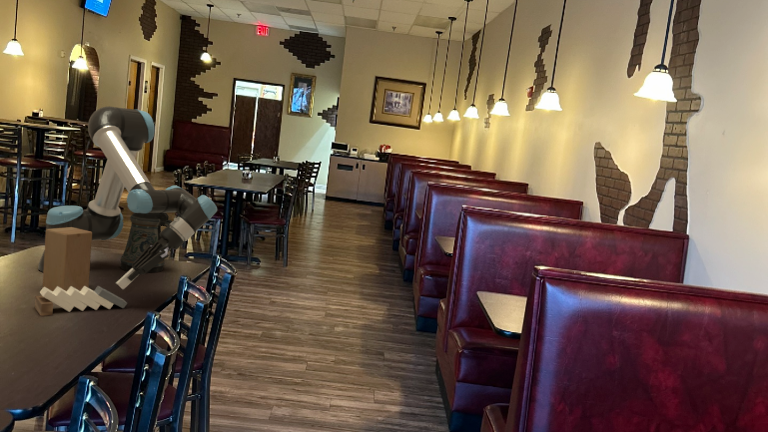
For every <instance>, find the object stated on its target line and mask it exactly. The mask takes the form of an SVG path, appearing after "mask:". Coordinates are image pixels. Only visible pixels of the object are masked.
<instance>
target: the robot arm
mask: <svg viewBox="0 0 768 432" xmlns="http://www.w3.org/2000/svg"><path fill="white" fill-rule="evenodd" d="M87 127H88V128H87V131H88V135H89V137H90V139H91V141H92V143H93V144H94V146H96V147H99V148H100V149H101V151H102V153H103V155H104V156H105V158H106V159H107V160H106V163H105V164H104V165H105V167H104V168H103V173H102V175H101V178H100V181H99V185H98V188H97V192H96V194H95V197H94V199H93V200H91V201H89V202H88V205H87V208H86V209H83V207H82V206H78V205H60V206H54V207H52V208H50V209H49V210H48V212H47V216H46V220H45V224H46V225H45V230H46V229H54V228H66V227H73V228H78V229H82V230H86V231H91V232H92V241H106V240H112V239H115V238H116V237H118V236H119V235H120V234H121V232H122V230H123V229H124V216H123V214H122V212H121V211H122V210H121V208H120V207H119V205H120V202H121V198H122V196H123V194H124V193H123V192H124V189H125V190H126V191H127V193H128V194H127V195H126V196H127V197H126V203H127V209H129V211H130V212H132V213H161V212H162V213H177V214H179V215H178V216H177V217H174V218H173V222H172V223H170V225H169V226H170V227H165V228H164V229H162V230H161V232H160V236H161V239H160V240H158V241H157V242H155V243H154V244H153V243H150V244H149V245H148V247H147V248H146V249H145V250H144V251H143V253H142V254H141V255H140V256H139V257H138V258H137V259H136V260H135V261H134V262H133V263H132V268H131V269H130V270H129V271H126V273H125V274H124V275H123V276H121V278H120V279H118V280H117V281H116V282H115V284H116V285H118V286H119V287H120V288H121V289H122V290H125V289H126V288H127V287H128V286H129V285H130V284H131V283H132V282H133V281H134V280H135V279H137V277H139V275H146V274H148V273H147V272H148V271H149V270H151V269H152V268H153V267H154V266H156V265H157V264H158V263H160V262H161V261H162V260H165V259H167V258H169V256H170V255H169V252H171V249H173V250H175V251H176V250H178V249H179V248H180V247H181V246H183V244H184V243H185V242H186V241H188V240H189V239H190V238H191V237H192V236H193V235H194V234H195V233H196V232H197V231H199V229H201V228H202V226H203V225H205V224H206V223H207V222H208V221H210V220H211V218H212V217H213V216H214V215H216V213H217V212H218V207H217V205H216V204H215V202H214V201H213V200H212V199H210V197H208V196H207V195H205V194H201V195H200V196H199V197H197V198H196V197H195V196H194V195H193V194H191V193H190V192H188V191H187V190H186V189H184V188H182V187H180V186H178V185H171V186H169V187H167V188H166V189H155V188H154V186H153V184H152V183H151V182H150V180H149V178H148V177H147V175H146V174H145V172H144V171H143V170H142V168H141V165H139V162H138V161H137V160H136V158H135V157H136V154H137V153H139V152H141V151H142V150H143V146H144V145H145V144H148V143H151V142H152V140H153V139H154V136H155V124H154V120H153V118H152V116H151V114H150V113H148V112H147V111H144V110H140V109H137V108H134V109H131V108H126V107H125V108H124V107H115V106H102V107H100V108H98V109H96V110H95V111H93V113H92V114H91V115H90V118H89V120H88V123H87ZM43 250H44V251H43V252H42V255H41V258H40V260H39V262H38V271H39V270H40V271H39V272H42V273H43V270H44V254H45V249H43Z"/></svg>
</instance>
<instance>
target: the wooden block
mask: <svg viewBox="0 0 768 432" xmlns="http://www.w3.org/2000/svg"><path fill="white" fill-rule="evenodd" d="M92 241H93V240H92V232H91V231H86V230H82V229H78V228H73V227H66V228H54V229H46V228H45V237H44V250H45V254H44V270H43V272H42V273H43V274H42V289H43V287H46V288H48V289H49V290H51V291H54V290H55V289H56V287H57V286H58V287H60V288H62V289H63V290H65V291H67V290H68V289H69V288H70V286H72V287H74V288H75V289H77V290H79V291H81V289H82V288H83V287H84V286H86V287H88V288H90V287H89V285H90V271H91V270H90V269H91V257H92V255H91V253H92V244H93V243H92Z"/></svg>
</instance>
